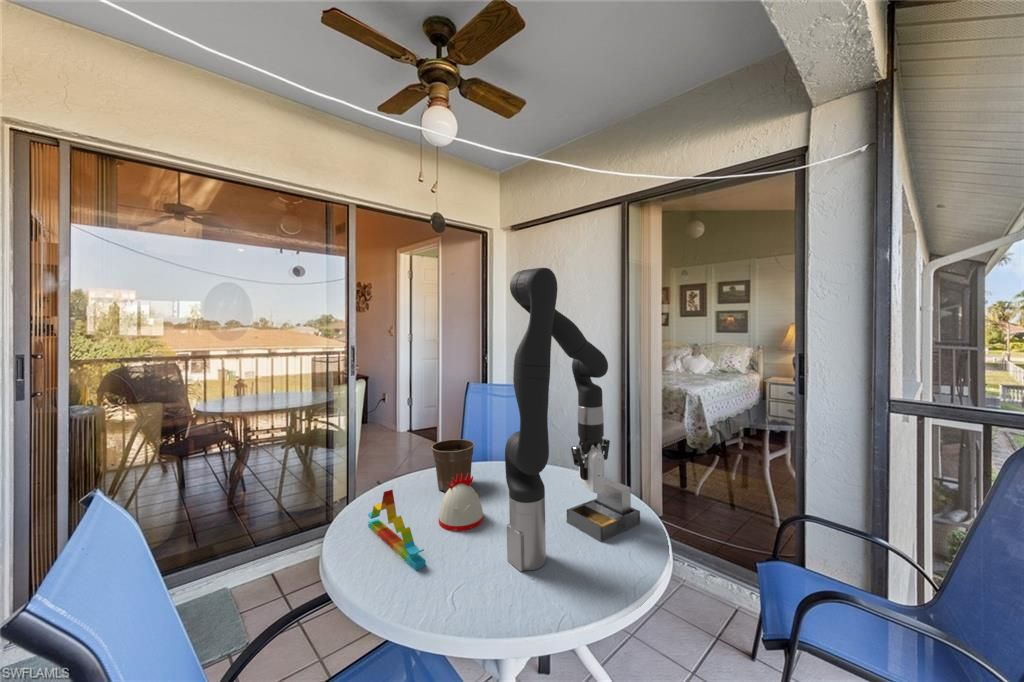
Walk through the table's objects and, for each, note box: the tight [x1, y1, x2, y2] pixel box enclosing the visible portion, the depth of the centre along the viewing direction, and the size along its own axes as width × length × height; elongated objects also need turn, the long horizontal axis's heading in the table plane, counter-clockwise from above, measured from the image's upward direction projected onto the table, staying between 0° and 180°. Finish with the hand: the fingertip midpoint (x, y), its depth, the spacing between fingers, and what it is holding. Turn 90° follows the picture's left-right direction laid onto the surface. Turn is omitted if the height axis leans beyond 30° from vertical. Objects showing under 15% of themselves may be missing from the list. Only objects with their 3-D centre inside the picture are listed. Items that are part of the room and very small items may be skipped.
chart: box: [367, 489, 427, 571], centre depth 115 cm, size 30×3×15 cm, turn 41°
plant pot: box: [431, 438, 475, 493], centre depth 155 cm, size 16×16×16 cm
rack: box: [566, 477, 641, 543], centre depth 125 cm, size 17×14×11 cm
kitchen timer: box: [438, 473, 484, 532], centre depth 129 cm, size 14×14×15 cm
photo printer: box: [578, 447, 605, 494], centre depth 121 cm, size 10×4×12 cm, turn 17°
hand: (591, 476), depth 122 cm, fingers closed on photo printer, 5 cm apart
